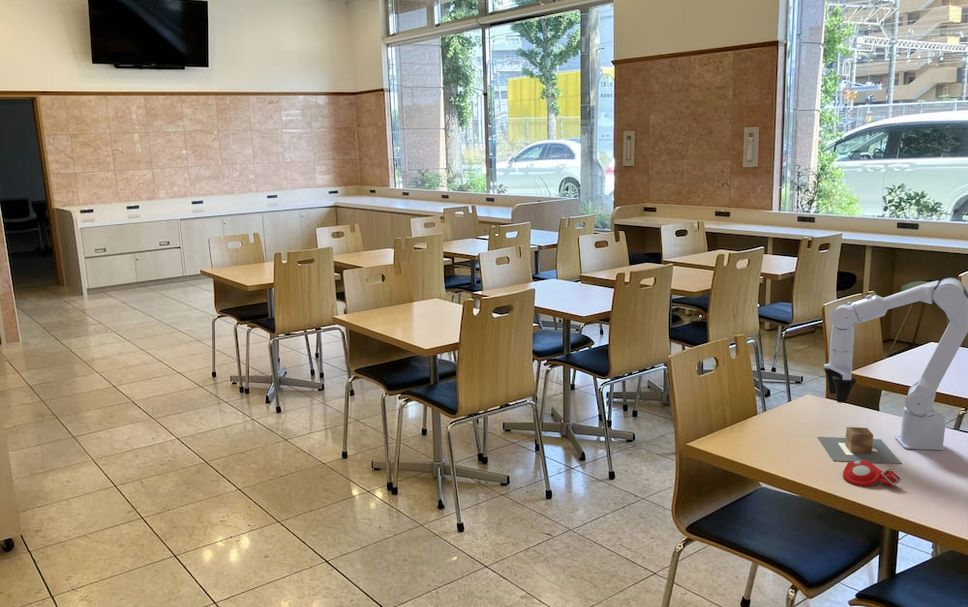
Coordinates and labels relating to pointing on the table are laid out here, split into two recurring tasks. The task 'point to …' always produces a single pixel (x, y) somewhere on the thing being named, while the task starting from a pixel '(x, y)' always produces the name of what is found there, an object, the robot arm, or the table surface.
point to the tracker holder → (869, 474)
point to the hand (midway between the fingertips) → (837, 397)
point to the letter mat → (842, 453)
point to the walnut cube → (859, 440)
